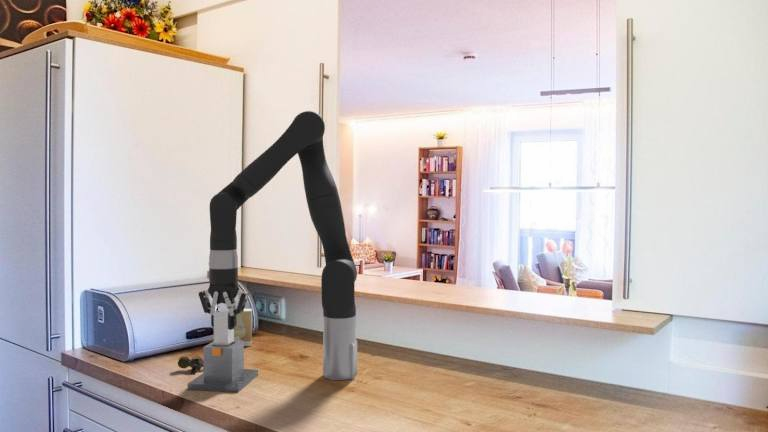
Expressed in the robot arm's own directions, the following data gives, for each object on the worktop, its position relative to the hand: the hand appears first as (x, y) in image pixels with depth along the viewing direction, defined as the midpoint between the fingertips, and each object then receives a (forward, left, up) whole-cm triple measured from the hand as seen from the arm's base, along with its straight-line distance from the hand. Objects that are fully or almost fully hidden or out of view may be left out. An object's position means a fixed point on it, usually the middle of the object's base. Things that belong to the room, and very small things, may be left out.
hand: (223, 328), depth 150 cm
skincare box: (+10, -37, -15) cm, 41 cm away
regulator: (+10, -9, -15) cm, 21 cm away
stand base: (0, 0, -15) cm, 15 cm away
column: (0, 0, -13) cm, 13 cm away
